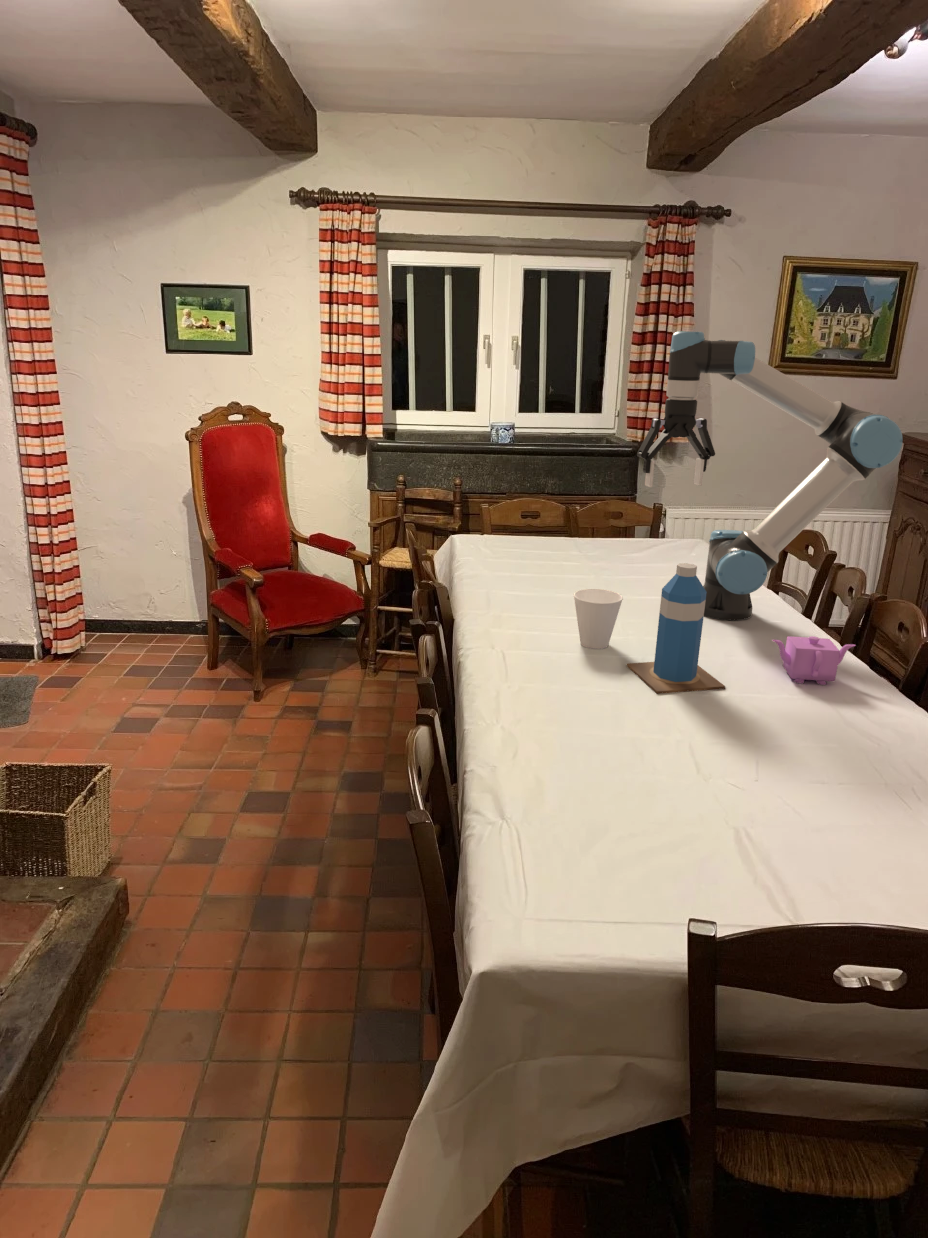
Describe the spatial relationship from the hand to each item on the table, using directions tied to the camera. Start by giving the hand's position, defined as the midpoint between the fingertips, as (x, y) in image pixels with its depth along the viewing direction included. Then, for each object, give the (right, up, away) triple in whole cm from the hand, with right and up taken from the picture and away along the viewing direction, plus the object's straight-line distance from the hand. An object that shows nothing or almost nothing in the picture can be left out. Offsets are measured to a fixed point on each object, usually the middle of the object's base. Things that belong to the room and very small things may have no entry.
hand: (673, 485), depth 210 cm
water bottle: (-6, -46, -24) cm, 52 cm away
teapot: (+25, -47, -21) cm, 57 cm away
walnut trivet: (-6, -46, -23) cm, 52 cm away
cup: (-21, -40, -4) cm, 45 cm away
